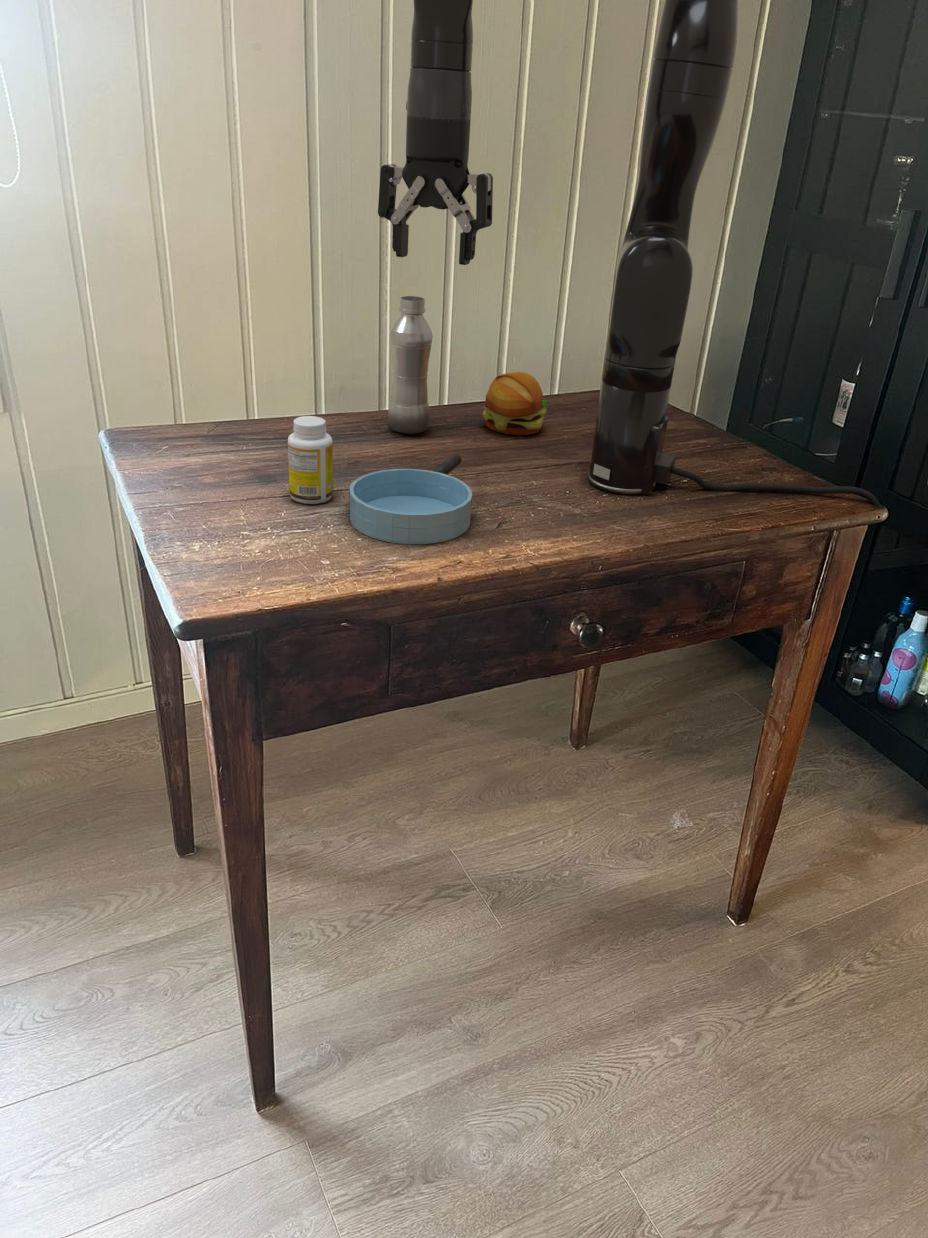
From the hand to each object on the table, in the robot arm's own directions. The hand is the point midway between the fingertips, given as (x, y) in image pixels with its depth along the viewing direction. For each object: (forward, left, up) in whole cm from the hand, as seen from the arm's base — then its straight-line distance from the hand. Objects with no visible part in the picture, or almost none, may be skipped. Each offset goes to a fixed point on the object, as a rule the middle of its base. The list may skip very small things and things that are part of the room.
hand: (432, 260), depth 119 cm
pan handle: (-5, +4, -26) cm, 27 cm away
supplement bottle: (+9, +16, -28) cm, 34 cm away
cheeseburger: (-5, -25, -28) cm, 38 cm away
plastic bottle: (+9, -15, -28) cm, 33 cm away
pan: (-5, +16, -28) cm, 33 cm away
